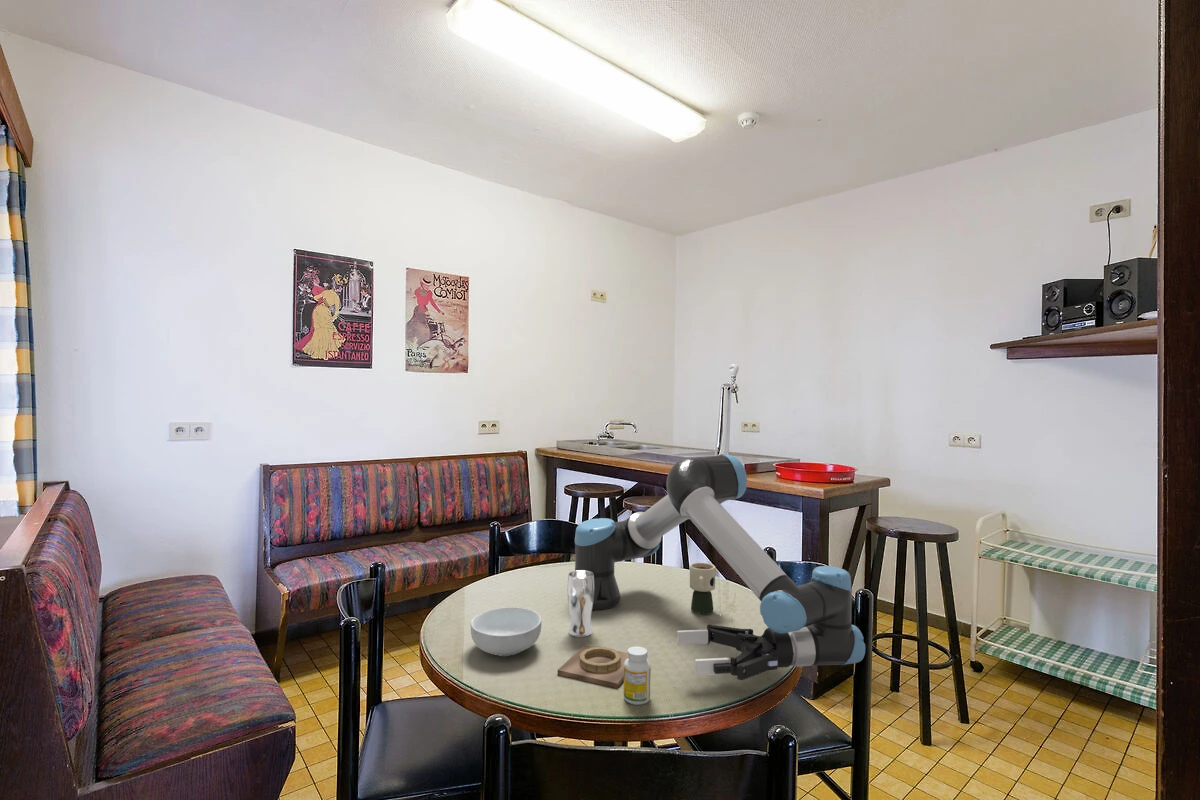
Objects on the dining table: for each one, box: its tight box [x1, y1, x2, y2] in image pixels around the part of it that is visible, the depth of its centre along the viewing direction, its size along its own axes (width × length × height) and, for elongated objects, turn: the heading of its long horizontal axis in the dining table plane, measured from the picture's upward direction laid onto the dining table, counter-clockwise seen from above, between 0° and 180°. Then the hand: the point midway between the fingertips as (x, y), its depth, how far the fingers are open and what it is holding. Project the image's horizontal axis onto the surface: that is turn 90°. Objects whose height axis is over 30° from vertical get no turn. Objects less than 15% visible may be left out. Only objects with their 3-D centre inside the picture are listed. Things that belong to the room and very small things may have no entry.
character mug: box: [689, 562, 716, 615], centre depth 161 cm, size 11×7×13 cm, turn 166°
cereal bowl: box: [470, 606, 542, 657], centre depth 136 cm, size 17×17×7 cm
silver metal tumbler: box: [566, 570, 595, 638], centre depth 146 cm, size 7×7×15 cm
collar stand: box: [557, 644, 628, 689], centre depth 127 cm, size 14×14×2 cm
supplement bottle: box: [623, 646, 652, 706], centre depth 114 cm, size 5×5×10 cm
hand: (685, 651), depth 115 cm, fingers open, 13 cm apart
